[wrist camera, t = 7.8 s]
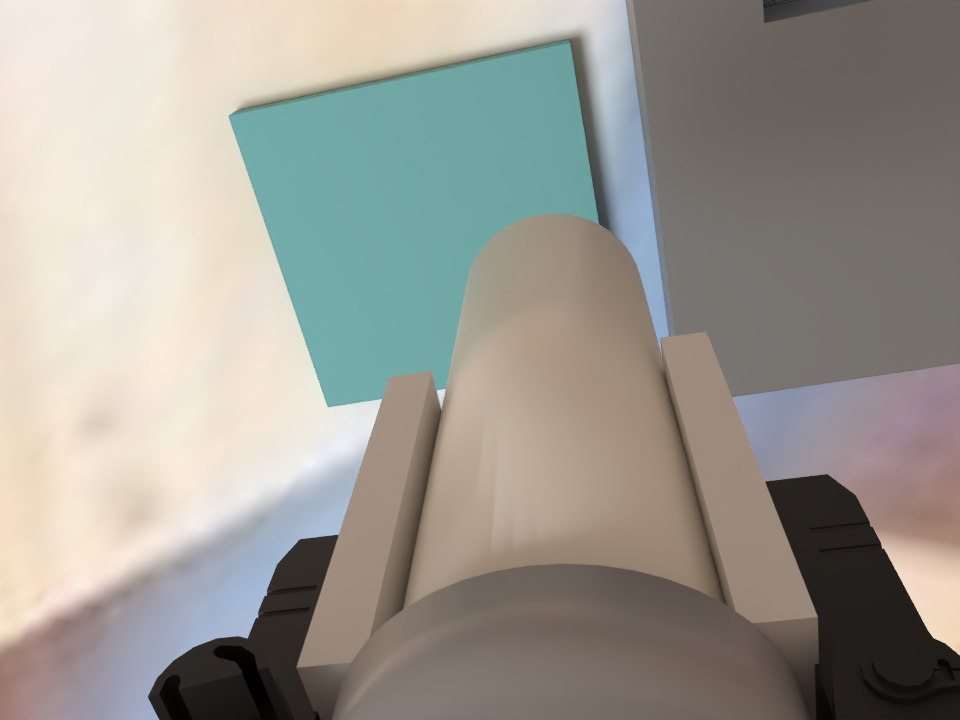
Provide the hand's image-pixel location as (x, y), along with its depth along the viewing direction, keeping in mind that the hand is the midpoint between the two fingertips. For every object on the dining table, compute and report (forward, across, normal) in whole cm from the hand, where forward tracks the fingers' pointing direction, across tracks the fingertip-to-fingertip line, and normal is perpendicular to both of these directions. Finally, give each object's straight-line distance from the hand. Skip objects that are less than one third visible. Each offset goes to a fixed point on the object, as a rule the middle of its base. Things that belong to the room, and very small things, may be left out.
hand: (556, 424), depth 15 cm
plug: (+5, 0, 0) cm, 5 cm away
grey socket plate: (+18, -9, -1) cm, 20 cm away
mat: (+18, +4, +2) cm, 19 cm away
